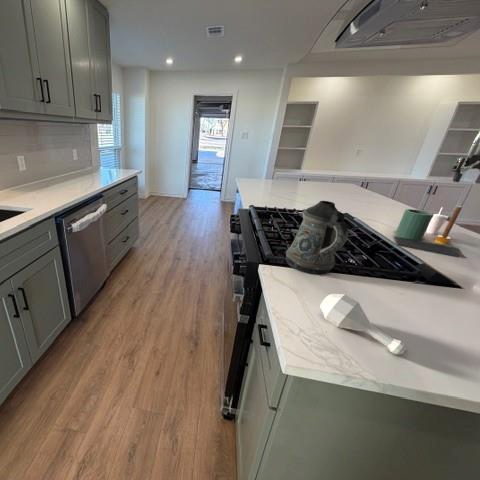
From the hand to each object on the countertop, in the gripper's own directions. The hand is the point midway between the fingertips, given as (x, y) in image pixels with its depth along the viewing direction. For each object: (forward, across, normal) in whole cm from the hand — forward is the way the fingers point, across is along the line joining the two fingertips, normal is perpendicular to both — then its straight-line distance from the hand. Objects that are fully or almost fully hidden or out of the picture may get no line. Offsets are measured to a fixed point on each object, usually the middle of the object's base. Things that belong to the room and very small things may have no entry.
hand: (466, 182), depth 114 cm
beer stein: (+28, -72, -45) cm, 90 cm away
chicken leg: (+28, -73, -80) cm, 112 cm away
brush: (+28, -2, -4) cm, 28 cm away
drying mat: (+28, -14, -12) cm, 33 cm away
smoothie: (+28, +4, +10) cm, 30 cm away
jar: (+28, -12, +1) cm, 31 cm away
